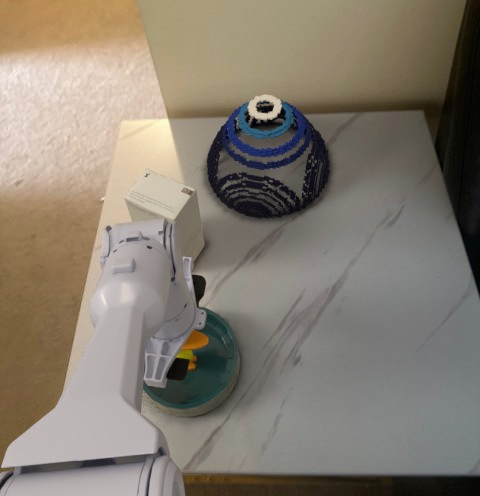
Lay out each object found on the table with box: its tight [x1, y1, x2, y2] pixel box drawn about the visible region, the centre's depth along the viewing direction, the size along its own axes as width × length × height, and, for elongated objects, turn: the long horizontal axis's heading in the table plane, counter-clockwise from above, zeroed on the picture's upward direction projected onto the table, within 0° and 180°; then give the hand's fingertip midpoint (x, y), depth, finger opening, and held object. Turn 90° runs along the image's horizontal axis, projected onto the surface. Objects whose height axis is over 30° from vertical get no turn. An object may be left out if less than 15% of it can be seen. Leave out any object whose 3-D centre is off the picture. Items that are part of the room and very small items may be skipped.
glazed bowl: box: [143, 306, 241, 418], centre depth 73 cm, size 13×13×4 cm
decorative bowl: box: [206, 93, 331, 219], centre depth 88 cm, size 20×20×14 cm
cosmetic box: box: [123, 168, 206, 264], centre depth 80 cm, size 8×6×15 cm
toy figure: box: [177, 330, 208, 370], centre depth 69 cm, size 7×4×12 cm, turn 85°
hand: (182, 345), depth 69 cm, fingers open, 7 cm apart
